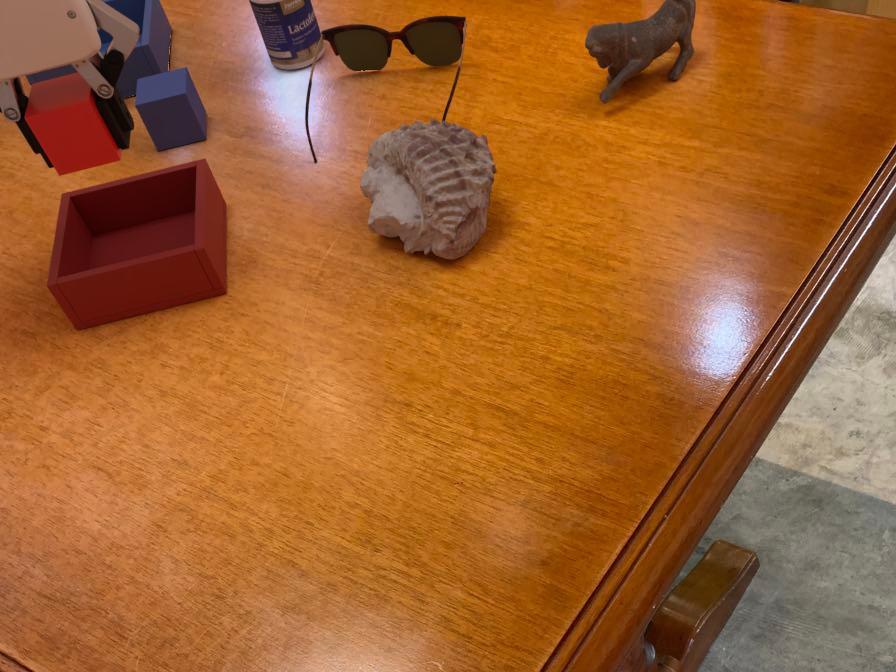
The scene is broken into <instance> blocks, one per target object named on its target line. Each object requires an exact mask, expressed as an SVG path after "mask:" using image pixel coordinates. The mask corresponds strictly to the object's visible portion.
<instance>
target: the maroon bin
mask: <svg viewBox="0 0 896 672" xmlns="http://www.w3.org/2000/svg"><path fill="white" fill-rule="evenodd" d="M59 202H60V203H59V208H58V214H57V220H56V225H55V226H56V227H55V231H54V238H53V245H52V252H51V256H50V263H49V269H48V276H47V282H46V288H47V289H48V291H49V292H50V294H51V295H52V297H53V299H54V300H55V301H56V303H57V304H58V305H59V307H60V308H61V310H62V311H63V313H64V314H65V316H66V317H67V319H68V320H69V322H70V323H71V325H72V326H73V327H74V329H75V330H76V331H79V330H83V329H87V328H91V327H96V326H101V325H104V324H106V323H111V322H117V321H120V320H124V319H128V318H133V317H136V316H139V315H140V316H141V315H145V314H148V313H152V312H157V311H161V310H164V309H169V308H172V307H176V306H181V305H185V304H188V303H193V302H197V301H201V300H205V299H210V298H213V297H217V296H221V295H225V294H227V293H228V292H227V291H228V290H227V285H228V284H227V202H226V200H225V198H224V196H223V194H222V191H221V189H220V187H219V185H218V182H217V180H216V178H215V176H214V173H213V172H212V170H211V167H210V165H209V162H208V161H207V159H206V158H201V159H198V160H193V161H192V160H191V161H188V162H185V163H180V164H176V165H172V166H169V167H164V168H159V169H155V170H152V171H147V172H144V173H140V174H136V175H131V176H128V177H124V178H119V179H116V180H112V181H107V182H104V183H99V184H96V185H91V186H88V187H87V186H86V187H84V188H83V187H82V188H79V189H75V190H71V191H66V192H62V193H61V195H60V201H59Z"/></svg>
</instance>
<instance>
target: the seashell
mask: <svg viewBox="0 0 896 672" xmlns="http://www.w3.org/2000/svg"><path fill="white" fill-rule="evenodd" d="M429 120H430V122H428V123H426V122H423V121H420V120H415V121H414V122H413V124H411V125H409V124H406V123H403V124H401V125H399V126H398V127H397V128H396V129H395V130H393V129H390V130H388V131H386V132H384V133H382V134H380V135H379V136H378V137H376V138H374V140H373V141H372V142H371V143H370V145H369V147H368V150H367V151H368V152H367V155H366V164H367V168H365V169H363V170H362V171H361V178H360V185H359V186H360V191H361V193H362V195H363V196H364V197H365V198H368V199H369V202H370V205H371V207H370V209H369V215H368V218H367V222H366V223H367V227H368V229H369V231H370V232H371V233H372V234H373V235H382V236H384V237H389V238H398V237H399V239H400V240H401V241H402V242H403V244H404V246H403V249H404V252H405V253H410V254H414V253H415V252H423V253H424V256H427V255H428V254H430V253H431V252H432V253H433V254H434V255H435V256H437V257H439V258H441V259H445V260H454V261H456V260H457V259H458V258H461V257H465V256H466V255H467V254H468V253H469V252H470V251H471V250H472V248H474V246H475V245H476V244H477V243H478V242H479V240H480V239H481V238H482V237H483V236H484V234H485V233H486V230H487V223H488V222H487V221H488V211H489V208H490V205H491V194H492V192H493V185H494V183H495V174H497V173H498V171H497V168H496V163H495V162H494V157H493V153H492V151H491V150H490V147H489V139H488V138H487V136H486V135H485V134H481V136H480V137H479V135H478V134H475V133H474V131H471V130H470V129H469V128H467V127H463V126H461V125H458V124H456V123H451V122H448V121H447V120H445V121H444V120H443V121H442V120H441V122H440V121H439V120H437V119H436V118H431V117H429Z"/></svg>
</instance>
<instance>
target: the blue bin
mask: <svg viewBox="0 0 896 672" xmlns="http://www.w3.org/2000/svg"><path fill="white" fill-rule="evenodd" d="M101 1H103V2H104V3H106V4H107V5H109V6H110V7H112V8H113V9H115V10H116V11H118V12H119V13H121V14H122V15H124V16H126V17H127V18H129V19H130V20H132V21H133V22H135V23H136V24H137V25H138V26H139V29H140V33H139V40H138V42H137V44H136V46H135V47H134V49H133V50H132V52H131V54H130V55H129V57H128V58H127V60H126V61H125V63H124V66H123V69H122V71H121V74H120V76H119V79H118V81H117V84H116V86H117V88H118V90H119V92H120V94H121V96H122V98H124V99H126V98H125V97H128V98H130V97H129V96H132V95H136V89H137V79H140V78H144V77H148V76H152V75H156V74H160V73H164V72H168V64H169V63H168V62H169V49H170V48H169V47H170V35H171V28H172V25H171V24H170V21H169V19H168V16H167V14H166V11H165V10H164V8H163V5H162V3H161V1H160V0H101ZM97 32H98V34H99V37H100V40H101V48H100V50H99V51H100V53H101V54H102V55H103V56H104V55H105V53H106V50H107V48H108V46H109V44H111V42H112V40H113V36H112V35H111V34H109V33H108V32H106V31H105V30H103V29H99V30H98V31H97ZM74 73H78V72H77V71H76V69H75V68H74V67H73V66H72V65H71V64H69V65H65V66H61V67H57V68H53V69H49V70H45V71H42V72H38V73H34V74H30V75H26V76H25V78H26V80H27V82H28V83H29V85H30V86H31V85H32V84H34V83H38V82H42V81H46V80H50V79H54V78H58V77H62V76H66V75H70V74H74ZM132 97H133V96H132Z"/></svg>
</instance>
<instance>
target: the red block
mask: <svg viewBox="0 0 896 672" xmlns="http://www.w3.org/2000/svg"><path fill="white" fill-rule="evenodd" d="M28 98H29V99H28V103H27V108H26V113H25V117H24V118H25V120H26V122H27V123H28V125H29V127H30V128H31V130H32V132H33V133H34V135H35V136H36V138H37V140H38V141H39V143H40V145H41V146H42V148H43V150H44V151H45V153H46V155H47V156H48V158H49V160H50V161H51V163H52V165H53V166H54V167H53V168H54V170H55V171H56V173H57V175H58V177H59V176H64V175H68V174H72V173H76V172H80V171H84V170H89V169H93V168H96V167H100V166H104V165H108V164H112V163H116V162H120V161H121V160H122V154H123V153H122V152H123V150H121V149H119V148H118V146H117V144H116V142H115V140H114V139H113V137H112V135H111V133H110V131H109V129H108V127H107V126H106V124H105V122H104V120H103V118H102V116H101V114H100V113H99V111H98V109H97V107H96V104H95V102H96V95H95V93H94V91H93V89H92V88H91V86H90V85H89V84H88V83H87V82H86V81H85V80H84V78H83V77H82V76H81V75H80V74H79V73H74V74H70V75H66V76H62V77H58V78H54V79H50V80H46V81H42V82H38V83H34V84H32V85H30V90H29V95H28Z"/></svg>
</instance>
